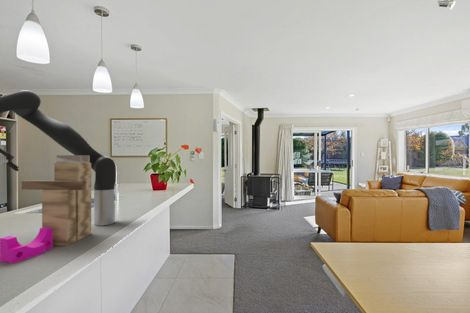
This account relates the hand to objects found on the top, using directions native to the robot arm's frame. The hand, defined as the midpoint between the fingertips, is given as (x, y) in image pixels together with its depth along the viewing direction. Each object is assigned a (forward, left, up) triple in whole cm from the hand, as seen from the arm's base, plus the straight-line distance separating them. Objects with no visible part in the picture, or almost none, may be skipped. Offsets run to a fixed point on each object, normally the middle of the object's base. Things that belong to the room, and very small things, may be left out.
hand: (7, 179), depth 97 cm
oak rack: (-16, +11, -26) cm, 32 cm away
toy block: (+1, +10, -26) cm, 28 cm away
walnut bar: (-11, +9, -5) cm, 15 cm away
